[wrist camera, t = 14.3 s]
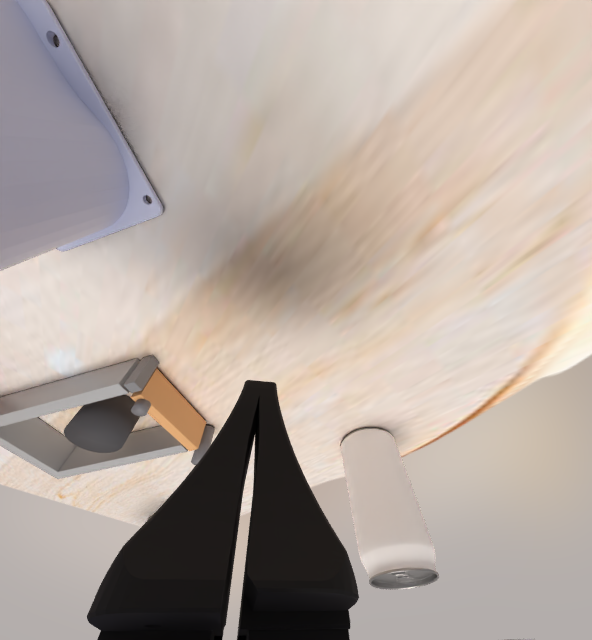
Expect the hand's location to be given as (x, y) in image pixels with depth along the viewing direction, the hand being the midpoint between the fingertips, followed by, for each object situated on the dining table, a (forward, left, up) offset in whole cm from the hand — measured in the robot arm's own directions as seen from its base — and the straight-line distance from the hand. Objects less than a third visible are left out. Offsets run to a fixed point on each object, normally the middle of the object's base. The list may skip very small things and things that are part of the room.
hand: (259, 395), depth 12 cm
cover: (+9, -13, -9) cm, 18 cm away
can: (+22, +4, -10) cm, 24 cm away
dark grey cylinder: (+7, -20, -10) cm, 23 cm away
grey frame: (+7, -21, -9) cm, 24 cm away
